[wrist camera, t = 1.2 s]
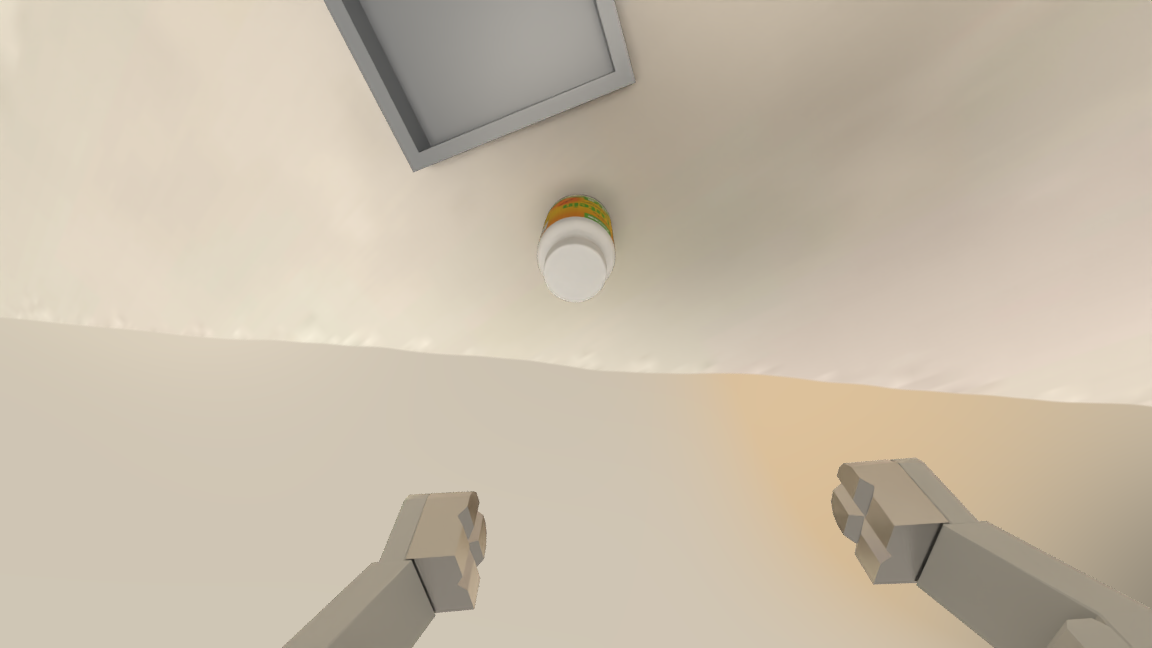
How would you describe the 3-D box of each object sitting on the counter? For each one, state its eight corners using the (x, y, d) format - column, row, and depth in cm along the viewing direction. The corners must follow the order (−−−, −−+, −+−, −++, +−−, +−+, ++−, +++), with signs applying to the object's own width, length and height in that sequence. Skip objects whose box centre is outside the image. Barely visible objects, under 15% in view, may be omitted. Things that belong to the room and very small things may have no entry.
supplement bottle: (619, 202, 35) (629, 244, 27) (601, 264, 38) (605, 320, 29) (552, 185, 35) (541, 222, 26) (539, 249, 37) (524, 301, 29)
